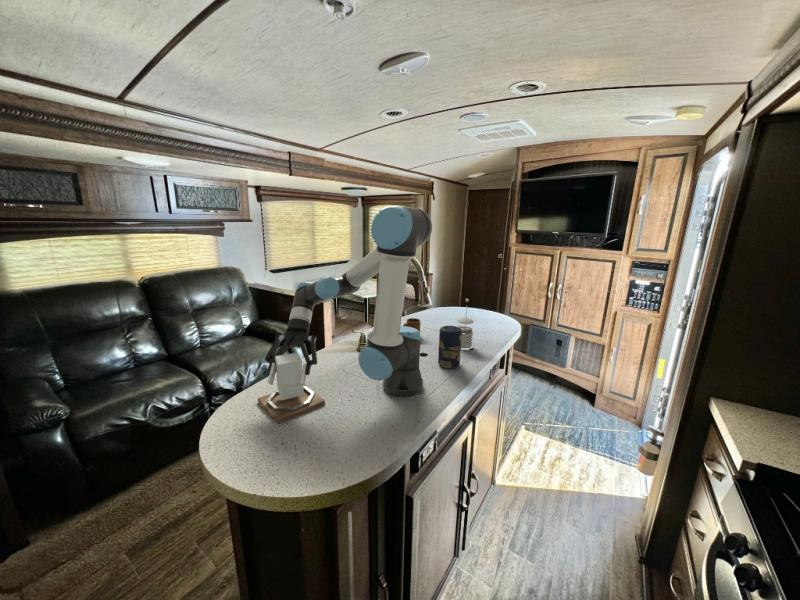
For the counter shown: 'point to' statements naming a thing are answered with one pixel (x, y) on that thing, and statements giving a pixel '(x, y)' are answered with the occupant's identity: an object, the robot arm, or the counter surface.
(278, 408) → the metal ring
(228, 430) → the counter surface
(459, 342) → the canister
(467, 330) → the french press
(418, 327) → the mug
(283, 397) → the supplement box
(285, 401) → the walnut board
